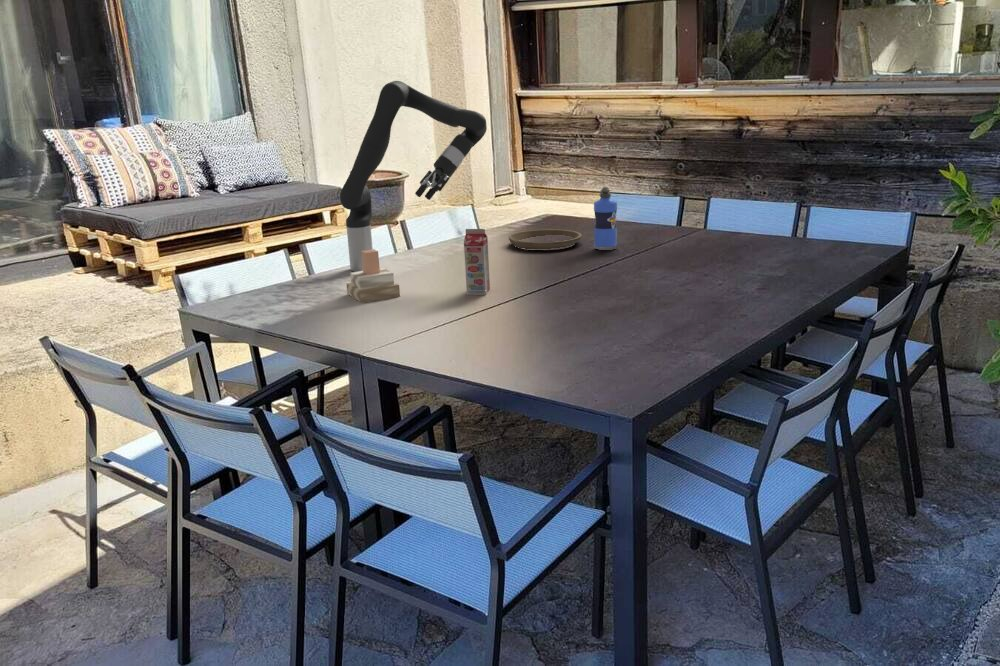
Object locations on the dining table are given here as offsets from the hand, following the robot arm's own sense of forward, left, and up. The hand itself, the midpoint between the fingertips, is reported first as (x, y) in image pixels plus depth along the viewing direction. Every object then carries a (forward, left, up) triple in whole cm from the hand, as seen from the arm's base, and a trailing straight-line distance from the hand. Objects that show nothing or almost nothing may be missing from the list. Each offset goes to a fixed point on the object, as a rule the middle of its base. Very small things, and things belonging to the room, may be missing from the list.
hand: (421, 196), depth 310 cm
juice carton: (+26, +7, -31) cm, 41 cm away
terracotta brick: (+7, -24, -23) cm, 33 cm away
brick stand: (+7, -24, -31) cm, 39 cm away
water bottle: (-5, +82, -31) cm, 88 cm away
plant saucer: (-28, +67, -31) cm, 79 cm away
